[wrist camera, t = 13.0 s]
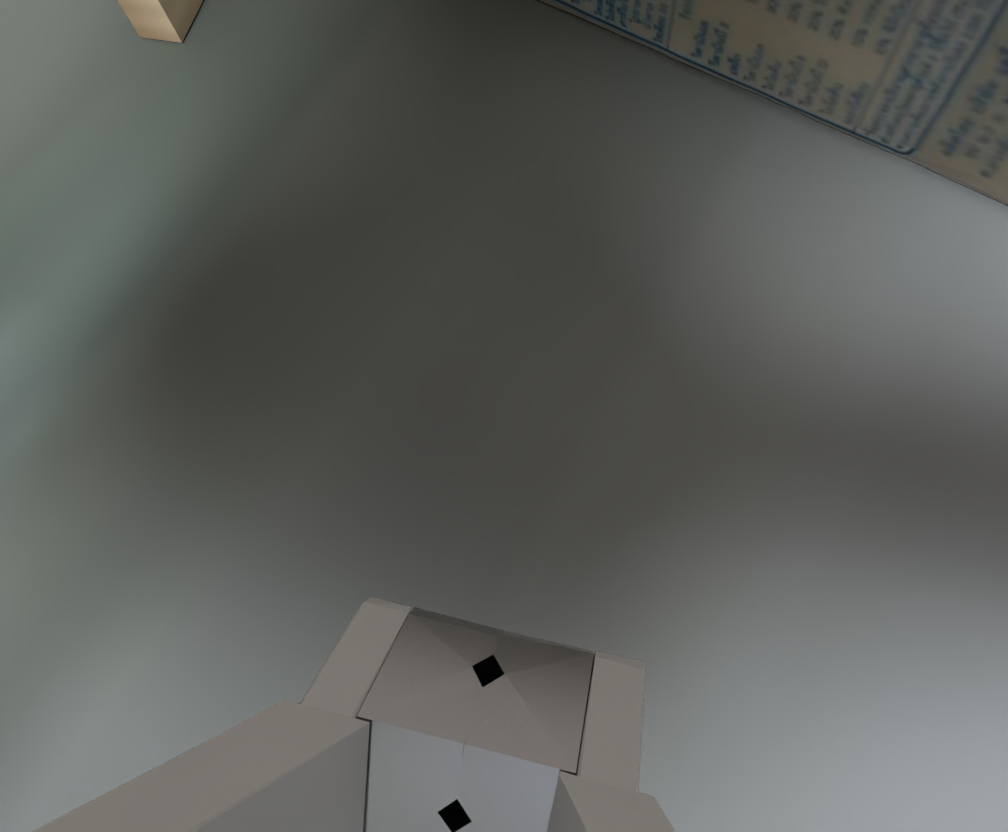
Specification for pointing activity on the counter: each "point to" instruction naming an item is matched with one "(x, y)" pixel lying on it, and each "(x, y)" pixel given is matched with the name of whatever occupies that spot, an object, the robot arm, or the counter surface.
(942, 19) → the beverage carton
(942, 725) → the counter surface
